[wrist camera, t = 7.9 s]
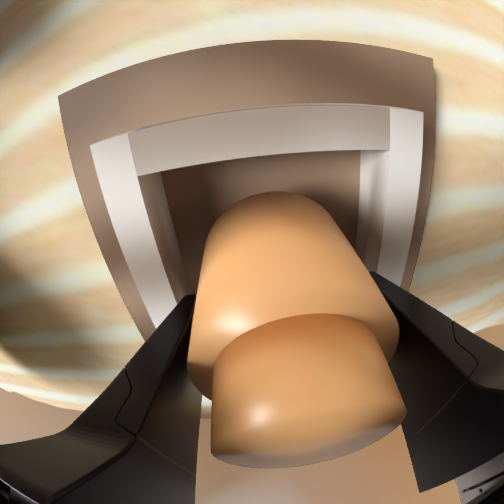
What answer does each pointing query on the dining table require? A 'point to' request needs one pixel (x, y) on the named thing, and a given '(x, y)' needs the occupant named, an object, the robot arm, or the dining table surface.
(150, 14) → the dining table surface
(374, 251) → the collar board
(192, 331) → the tan rounded cylinder
